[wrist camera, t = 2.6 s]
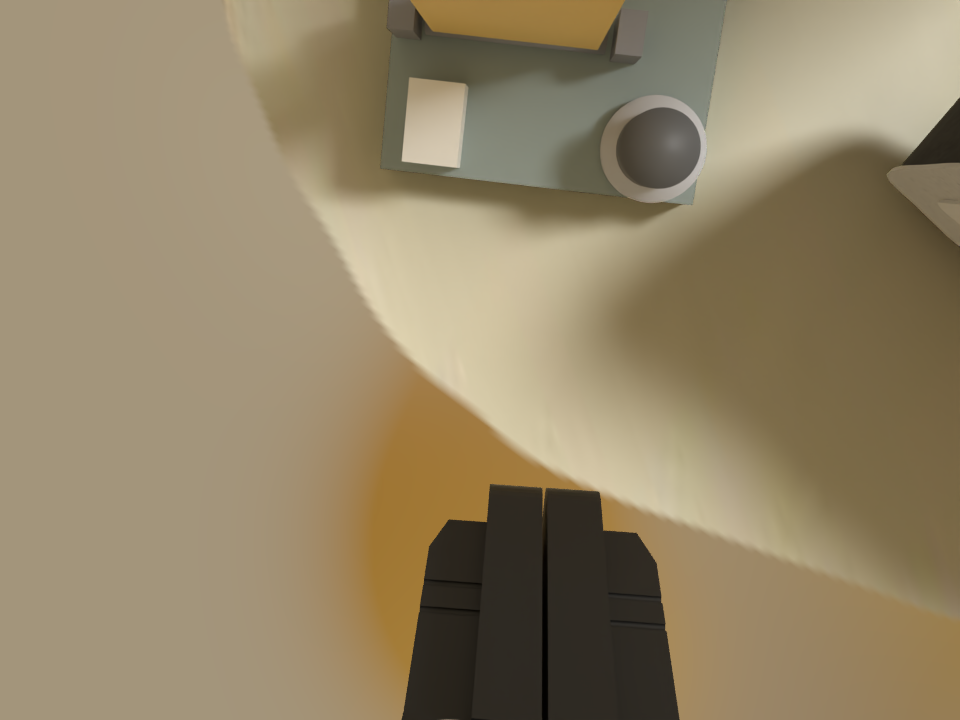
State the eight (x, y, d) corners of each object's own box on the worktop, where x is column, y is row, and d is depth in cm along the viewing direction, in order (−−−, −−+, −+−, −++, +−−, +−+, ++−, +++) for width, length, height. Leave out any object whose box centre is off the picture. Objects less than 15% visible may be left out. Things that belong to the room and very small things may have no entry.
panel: (419, -186, 34) (402, -238, 30) (745, -152, 34) (776, -199, 30) (388, 170, 38) (368, 170, 33) (686, 206, 37) (706, 210, 33)
